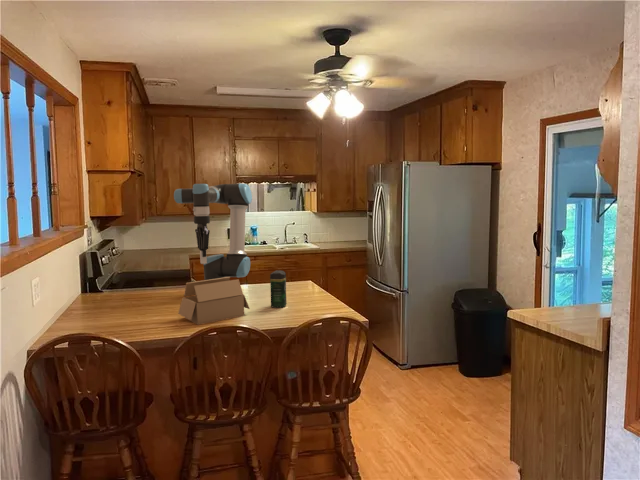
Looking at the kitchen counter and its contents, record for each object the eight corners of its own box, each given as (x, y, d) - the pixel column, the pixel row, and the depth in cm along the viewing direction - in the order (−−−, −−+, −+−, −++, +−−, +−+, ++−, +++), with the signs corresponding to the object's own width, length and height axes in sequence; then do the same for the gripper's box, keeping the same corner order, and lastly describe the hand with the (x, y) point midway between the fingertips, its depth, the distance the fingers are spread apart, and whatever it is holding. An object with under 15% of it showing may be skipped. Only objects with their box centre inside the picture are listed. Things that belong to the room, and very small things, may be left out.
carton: (177, 319, 245) (176, 298, 244) (235, 308, 264) (234, 288, 262) (191, 326, 233) (189, 304, 232) (250, 314, 251) (249, 293, 250)
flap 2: (198, 302, 234) (193, 286, 236) (242, 294, 247) (238, 279, 249) (198, 301, 233) (194, 285, 236) (243, 294, 247) (238, 279, 249)
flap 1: (183, 295, 247) (186, 282, 243) (226, 288, 261) (229, 276, 257) (184, 296, 247) (186, 283, 243) (227, 289, 260) (230, 277, 256)
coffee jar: (284, 308, 261) (283, 272, 259) (269, 308, 262) (268, 272, 260) (288, 303, 271) (287, 269, 269) (273, 303, 272) (272, 269, 269)
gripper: (189, 215, 252) (191, 262, 254) (199, 216, 242) (201, 265, 244) (203, 214, 257) (205, 261, 259) (214, 215, 246) (216, 264, 248)
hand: (203, 263), depth 251 cm, fingers closed
